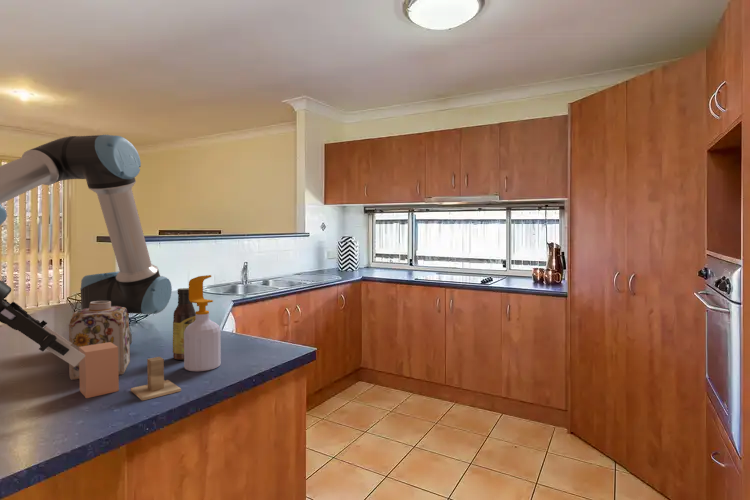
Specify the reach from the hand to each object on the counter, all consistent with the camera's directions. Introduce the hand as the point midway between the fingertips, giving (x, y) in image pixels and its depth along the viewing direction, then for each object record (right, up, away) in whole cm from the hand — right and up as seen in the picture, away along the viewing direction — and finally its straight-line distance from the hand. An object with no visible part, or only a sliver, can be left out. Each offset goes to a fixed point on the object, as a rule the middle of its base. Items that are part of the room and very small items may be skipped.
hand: (73, 354), depth 91 cm
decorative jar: (-6, -9, +18) cm, 21 cm away
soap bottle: (+19, -9, +22) cm, 31 cm away
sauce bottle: (+10, -9, +30) cm, 33 cm away
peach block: (+3, -9, +4) cm, 11 cm away
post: (+16, -9, +4) cm, 19 cm away
